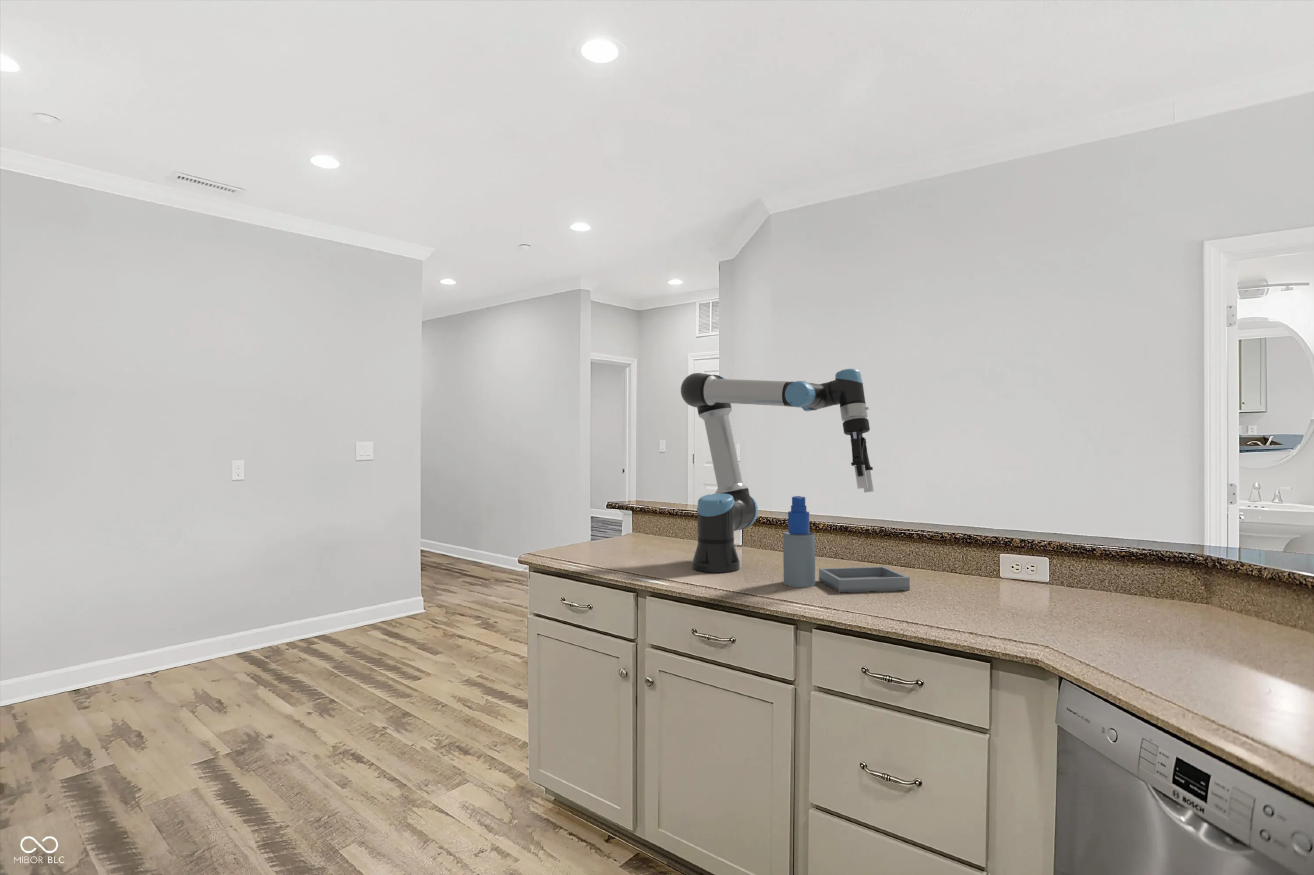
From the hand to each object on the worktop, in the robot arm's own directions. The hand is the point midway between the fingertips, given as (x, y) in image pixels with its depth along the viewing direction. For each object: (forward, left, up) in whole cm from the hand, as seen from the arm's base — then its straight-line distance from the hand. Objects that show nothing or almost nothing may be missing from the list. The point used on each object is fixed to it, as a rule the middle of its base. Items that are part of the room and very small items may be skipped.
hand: (866, 490), depth 190 cm
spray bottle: (+2, -21, -26) cm, 34 cm away
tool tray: (+6, -4, -26) cm, 27 cm away
